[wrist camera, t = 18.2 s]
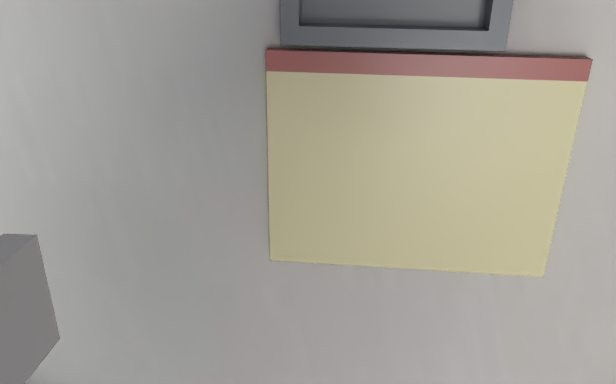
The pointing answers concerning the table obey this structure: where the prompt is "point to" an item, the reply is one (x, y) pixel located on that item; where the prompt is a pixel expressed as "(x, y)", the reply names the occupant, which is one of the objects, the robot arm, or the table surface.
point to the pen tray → (397, 23)
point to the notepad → (419, 157)
